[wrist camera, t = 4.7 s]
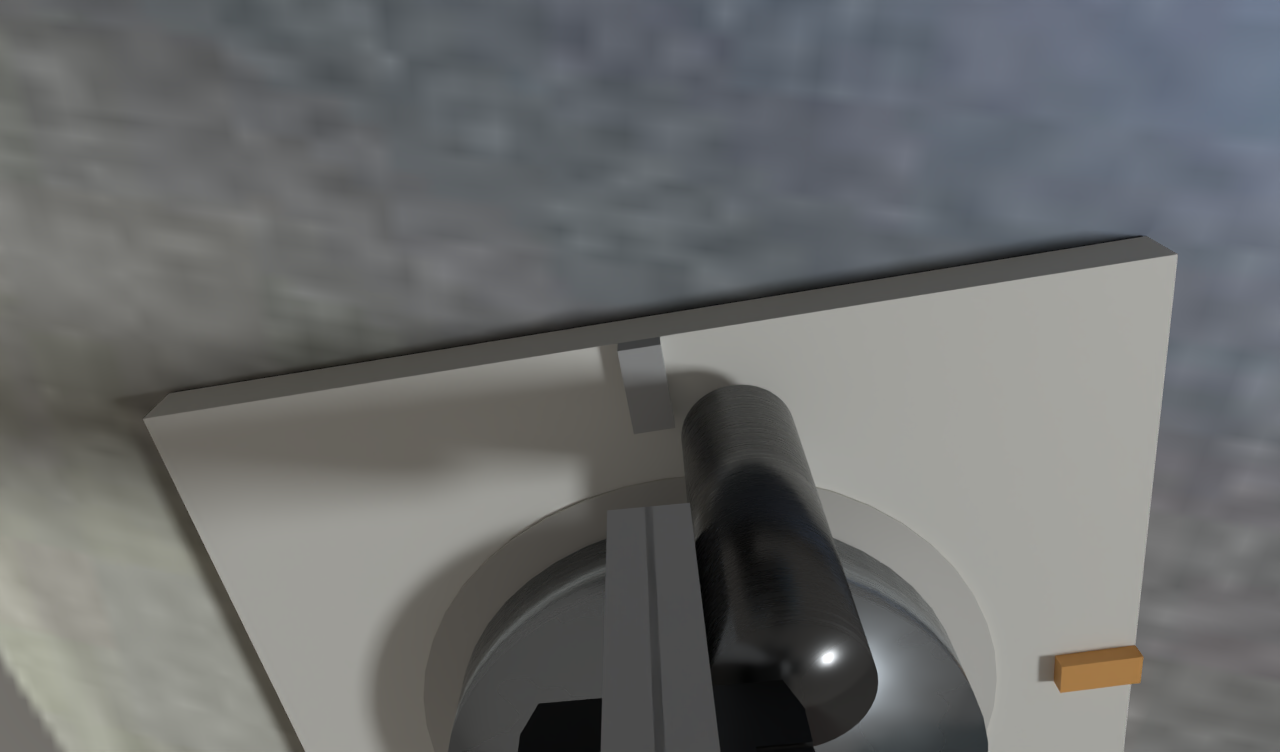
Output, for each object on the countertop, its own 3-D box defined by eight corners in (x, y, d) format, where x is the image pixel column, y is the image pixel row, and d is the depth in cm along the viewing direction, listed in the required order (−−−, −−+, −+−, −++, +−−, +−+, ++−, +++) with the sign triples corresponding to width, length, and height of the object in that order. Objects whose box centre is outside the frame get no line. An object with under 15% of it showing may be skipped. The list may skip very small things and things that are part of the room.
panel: (169, 393, 20) (133, 428, 19) (1146, 235, 19) (1189, 260, 17) (430, 954, 30) (420, 1005, 28) (1087, 881, 28) (1111, 931, 27)
